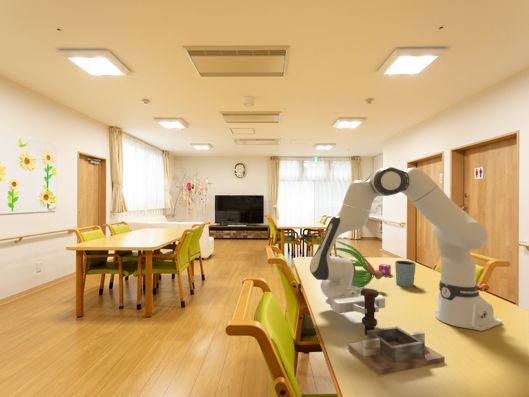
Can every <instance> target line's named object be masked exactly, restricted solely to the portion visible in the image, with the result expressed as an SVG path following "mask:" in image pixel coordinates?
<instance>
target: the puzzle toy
mask: <svg viewBox="0 0 529 397" xmlns="http://www.w3.org/2000/svg"><path fill="white" fill-rule="evenodd" d="M391 269H392V265H391V264H384V263H381V264H379V265H378V270H380V271H381V272H382V274H383V277H384V276H385V277H390V275H391V273H392V270H391Z"/></svg>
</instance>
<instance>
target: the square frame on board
mask: <svg viewBox="0 0 529 397" xmlns="http://www.w3.org/2000/svg"><path fill="white" fill-rule="evenodd" d="M425 339H426V333H425V332H424V331H414V332H413V331H412V332H407V331H405V330H403V329H402V328H400V327H398V326H389V327H383V328H377V329H375V328H374V330H368V331H367V336H366V339H363V340H362V341H359V342H351V343H348V344H347V345H348V346H347V347H348V350H349V351H350V352H352V354H353V355H355V356H356V357H357V358H358V359H359V360H360V361H361V362H362V363H364V364H365V365H366V366H367V367H368V368H369V369H371V370H372V371H373V372H374V373H376V374H377V376H382V375H387V374H392V373H397V372H402V371H406V370H407V371H408V370H413V369H418V368H421V367H427V366H432V365H433V366H434V365H437V364H438V365H439V364H443V363H445V361H446V360H445V358H446V356H444V355H442V354H441V353H438V352H437V351H436V350H434V349H433V348H430V347H429V346H427V345H426V343H425V342H426V340H425Z"/></svg>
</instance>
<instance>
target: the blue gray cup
mask: <svg viewBox="0 0 529 397" xmlns="http://www.w3.org/2000/svg"><path fill="white" fill-rule="evenodd" d="M394 264H395V265H394V267H395V268H394V269H395V283H396V285H397V286H401V287H406V288H407V287H408V288H411V287H412V288H413V287H414V284H415V274H416V267H417V266H416V262H413V261H410V260H396V261H394Z"/></svg>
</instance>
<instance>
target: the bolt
mask: <svg viewBox="0 0 529 397" xmlns="http://www.w3.org/2000/svg"><path fill="white" fill-rule="evenodd" d="M379 294H380V292H379V291H378V290H377V289H374V288H370V287H369V288H368V287H367V288H366V289H362V290H361V295H363V296H364V300H365V308H367V313H366V314H364V316H363V317H362V318H361V324H362V325H363V326H364V335H365V336H366V337H367V331H368V330H375V327H377V325H378V320H377V319H376V318H375V313H376V312H375V309H374V306H375V298H376V297H377V296H379Z"/></svg>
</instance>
